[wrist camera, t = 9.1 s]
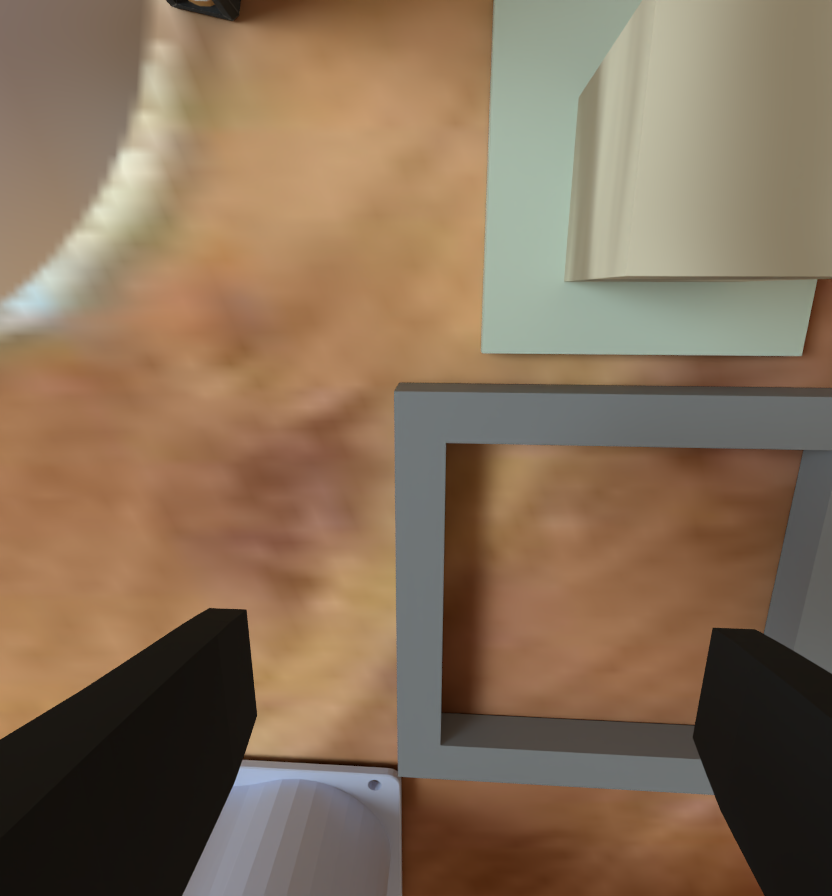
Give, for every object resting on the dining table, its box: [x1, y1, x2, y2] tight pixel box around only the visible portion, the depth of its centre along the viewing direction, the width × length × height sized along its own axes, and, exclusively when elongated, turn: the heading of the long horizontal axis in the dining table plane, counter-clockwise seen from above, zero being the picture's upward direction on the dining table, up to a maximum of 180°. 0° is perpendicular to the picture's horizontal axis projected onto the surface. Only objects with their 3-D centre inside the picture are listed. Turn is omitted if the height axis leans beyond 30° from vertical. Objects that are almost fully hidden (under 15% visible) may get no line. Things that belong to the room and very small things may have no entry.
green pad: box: [481, 0, 817, 356], centre depth 14 cm, size 9×9×1 cm
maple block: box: [564, 0, 832, 282], centre depth 11 cm, size 4×4×6 cm
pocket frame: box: [394, 383, 832, 795], centre depth 17 cm, size 14×14×2 cm
